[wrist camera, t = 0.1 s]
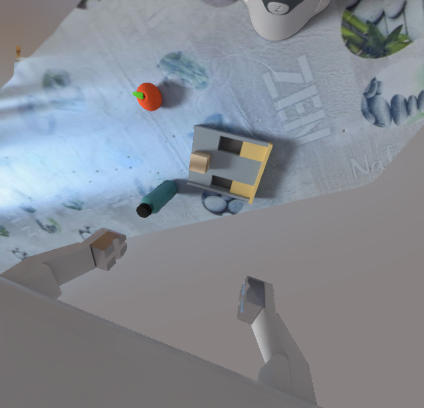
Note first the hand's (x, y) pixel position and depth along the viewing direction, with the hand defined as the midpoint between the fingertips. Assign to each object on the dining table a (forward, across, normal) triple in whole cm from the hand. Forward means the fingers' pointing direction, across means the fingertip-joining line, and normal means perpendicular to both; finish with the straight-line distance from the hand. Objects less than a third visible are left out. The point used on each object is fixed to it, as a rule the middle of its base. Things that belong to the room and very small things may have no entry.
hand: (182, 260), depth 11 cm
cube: (+45, +11, +7) cm, 47 cm away
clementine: (+48, +30, -7) cm, 57 cm away
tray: (+48, +4, +7) cm, 49 cm away
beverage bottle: (+48, +22, +21) cm, 57 cm away
